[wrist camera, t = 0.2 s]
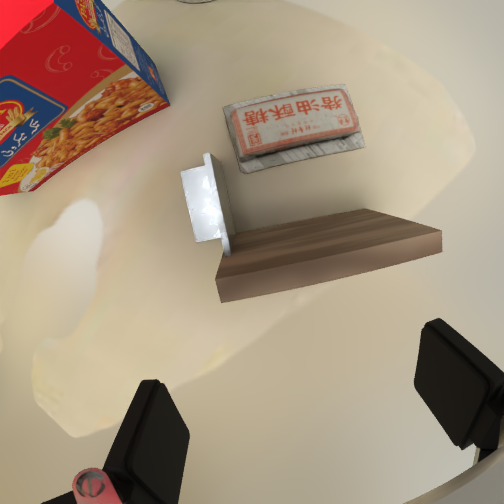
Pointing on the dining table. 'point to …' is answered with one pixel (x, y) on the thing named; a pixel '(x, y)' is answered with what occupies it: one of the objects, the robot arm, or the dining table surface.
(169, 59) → the dining table surface
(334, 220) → the shelf panel
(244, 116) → the packaged product
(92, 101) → the pasta box
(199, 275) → the dining table surface
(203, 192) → the bookend
